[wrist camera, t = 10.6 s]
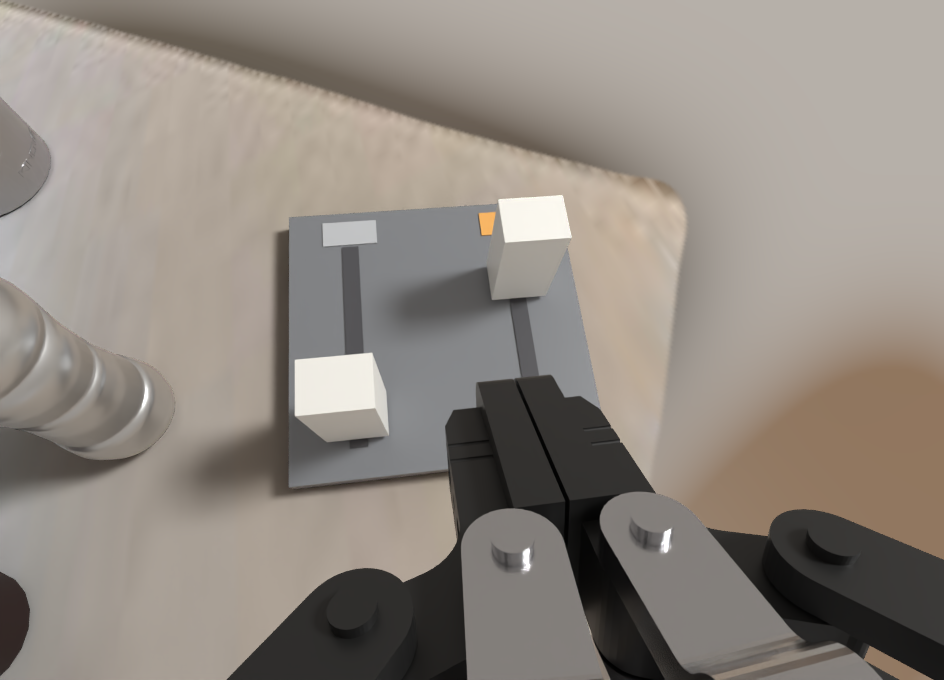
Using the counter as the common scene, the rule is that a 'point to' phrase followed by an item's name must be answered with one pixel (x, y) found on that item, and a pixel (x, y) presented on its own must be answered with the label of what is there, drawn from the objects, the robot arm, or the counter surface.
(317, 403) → the tab inner
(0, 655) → the vinegar
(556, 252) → the block
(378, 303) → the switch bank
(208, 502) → the counter surface
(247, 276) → the counter surface
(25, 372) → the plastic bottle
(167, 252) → the counter surface
